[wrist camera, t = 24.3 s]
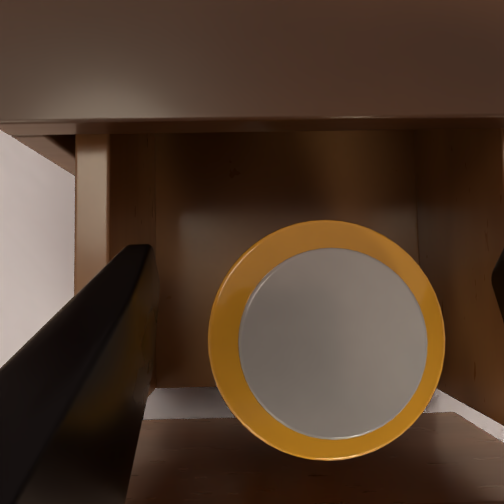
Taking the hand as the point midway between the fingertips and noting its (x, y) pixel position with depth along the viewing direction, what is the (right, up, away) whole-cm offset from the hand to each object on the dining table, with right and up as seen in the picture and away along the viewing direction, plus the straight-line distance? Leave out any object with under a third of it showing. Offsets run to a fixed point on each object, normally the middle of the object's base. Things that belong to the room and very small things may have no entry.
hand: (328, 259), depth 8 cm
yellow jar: (0, -2, +7) cm, 7 cm away
